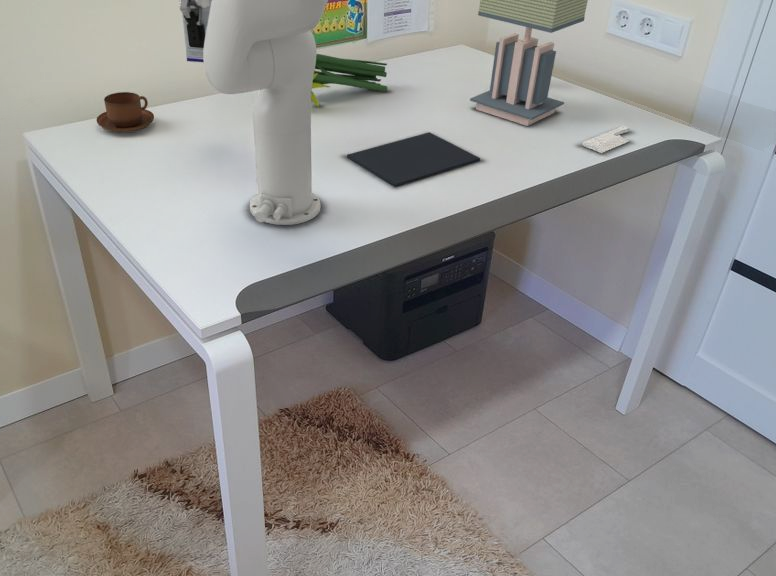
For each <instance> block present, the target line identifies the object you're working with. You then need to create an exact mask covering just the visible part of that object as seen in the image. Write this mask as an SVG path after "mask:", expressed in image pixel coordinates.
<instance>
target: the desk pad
mask: <svg viewBox="0 0 776 576" xmlns="http://www.w3.org/2000/svg"><path fill="white" fill-rule="evenodd" d="M346 158H347V159H349V160H351V161H352V162H353V163H355V164H357V165H359V166H360V167H362V168H363V169H365V170H367V171H368V172H370V173H372V174H373V175H374V176H376V177H378V178H380V179H381V180H383V181H385V182H387V183H388V184H390V185H392V186H393V187H395V188H397V187H400V186H403V185H407V184H409V183H412V182H415V181H419V180H422V179H426V178H428V177H432V176H435V175H437V174H438V175H439V174H441V173H444V172H448V171H452V170H455V169H458V168H461V167H464V166H467V165H471V164H473V163H477V162H480V161H481V160H480V159H481V157H479V156H476V155H475V154H474V153H471V152H469V151H467V150H465V149H464V148H461V147H459V146H458V145H455V144H453V143H452V142H449V141H447V140H445V138H442V137H440V136H438V135H436V134H434V133H432V132H430V131H429V132H425V133H422V134H418V135H415V136H411V137H407V138H403V139H399V140H396V141H393V142H388V143H384V144H381V145H377V146H373V147H370V148H367V149H363V150H359V151H355V152H352V153H348V154H346Z"/></svg>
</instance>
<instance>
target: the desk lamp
mask: <svg viewBox="0 0 776 576" xmlns="http://www.w3.org/2000/svg"><path fill="white" fill-rule="evenodd" d="M588 1H589V0H479V8H478V12H477V16H479V17H482V18H487V19H492V20H495V21H500V22H504V23H507V24H508V23H509V24H512V25H516V26H521V27H525V31H524V38H523V39H520V40H521V41H518V40H519V36H520V34H519V33H512V34H509V35H507V36H504V37H501V38H499V41H497V42H496V43H495V48H494V49H495V50H494V58H493V64H492V71H491V78H490V86H489V90H487V91H484V92H482V93H479V94H477V95H475V96H472V97H470V98H469V102H473V103H476V105H475V106H476V107H475V110H477V111H479V112H483V113H485V114H489V115H493V116H496V117H498V118H500V119H501V118H502V119H504V120H507V121H511V122H514V123H517V124H520V125H523V126H526V127H528V126H531V125H533V124H535V123H537V122H538V121H540V120H542V119H544V118H547V117H549V116H551V115H553V114H555V113H556V109H557V108H559V107H562V106H563V105H565V101H562V100H558V99H555V98H552V97H548V96H549V92H550V86H551V81H552V75H553V70H554V65H555V61H556V60H555V59H556V54H557V51H556V50H554V46H555V42H551V41H550V42H546V43H543V44H541V45H538V44H539V38H535V37H532V32H533V31H532V30H533V29H534V30H537V31H542V32H546V33H550V34H553V33H555V32H558V31H560V30H563V29H566V28H569V27H571V26H574V25H576V24H579V23H582V22H584V21H585V16H586V10H587V7H588Z"/></svg>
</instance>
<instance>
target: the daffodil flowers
mask: <svg viewBox="0 0 776 576" xmlns="http://www.w3.org/2000/svg"><path fill="white" fill-rule="evenodd" d="M387 65H388V63H387V62H379V61H371V60H362V59H352V58H351V59H350V58H340V57H335V56H330V55H326V54H321V53H316V65H315V70H314V76H313V82H312V89H318V88H319V89H320V88H331V85H330V84H333V85H340V86H346V87H347V86H348V87H355V88H361V89H366V90H373V91H379V92H384V93H385V92H386V93H387V92H388V86H387V85H384V84H381V83H378V82H381V81H382V79H381V78H387V75H388V73H387V71H386V66H387ZM319 70H320V71H319ZM378 77H381V78H378ZM328 84H329V85H328ZM311 103H314V105H316V106H317V107H320V106H321V105H320V103H319V101H318V98H317V97H316V95H315V93H314V92H313V90H312V91H311Z"/></svg>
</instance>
